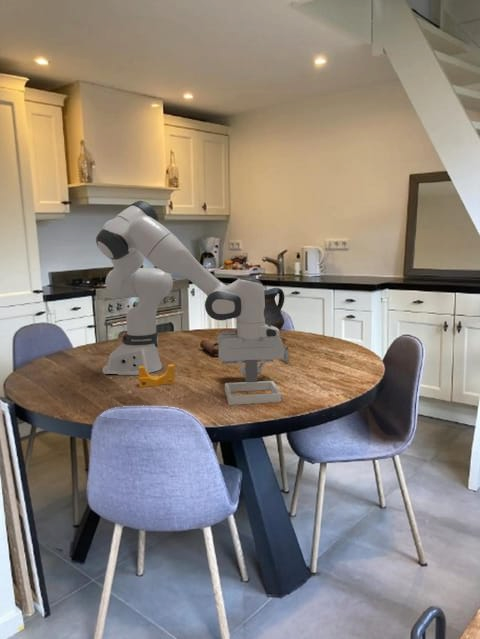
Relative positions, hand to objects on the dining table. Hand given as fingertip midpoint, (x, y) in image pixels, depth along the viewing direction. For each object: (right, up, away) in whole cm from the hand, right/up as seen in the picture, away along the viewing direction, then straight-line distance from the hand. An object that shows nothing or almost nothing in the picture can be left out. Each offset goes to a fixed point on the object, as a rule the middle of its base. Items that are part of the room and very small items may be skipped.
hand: (251, 373), depth 161 cm
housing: (0, -8, +2) cm, 8 cm away
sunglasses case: (-13, +2, +66) cm, 67 cm away
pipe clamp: (-32, -6, +17) cm, 37 cm away
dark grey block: (0, -2, 0) cm, 2 cm away
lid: (-2, +4, +17) cm, 17 cm away
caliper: (+12, 0, +51) cm, 53 cm away
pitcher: (+8, +7, +87) cm, 87 cm away
